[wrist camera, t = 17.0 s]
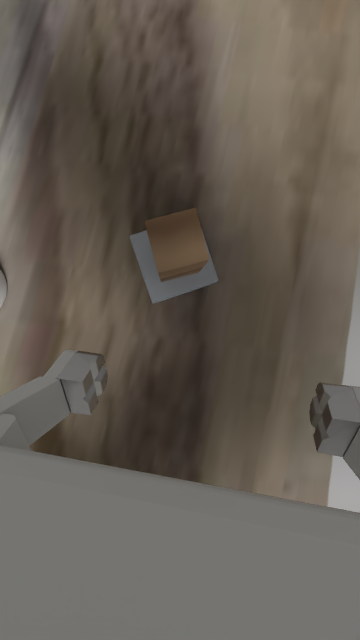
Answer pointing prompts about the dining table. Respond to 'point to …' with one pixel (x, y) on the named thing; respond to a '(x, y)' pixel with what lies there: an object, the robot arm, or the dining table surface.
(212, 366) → the dining table surface
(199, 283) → the slate grey base block
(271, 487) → the dining table surface
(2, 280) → the fruit juice
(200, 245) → the walnut block
